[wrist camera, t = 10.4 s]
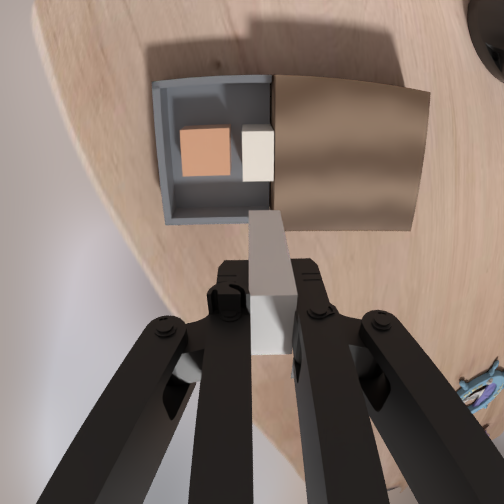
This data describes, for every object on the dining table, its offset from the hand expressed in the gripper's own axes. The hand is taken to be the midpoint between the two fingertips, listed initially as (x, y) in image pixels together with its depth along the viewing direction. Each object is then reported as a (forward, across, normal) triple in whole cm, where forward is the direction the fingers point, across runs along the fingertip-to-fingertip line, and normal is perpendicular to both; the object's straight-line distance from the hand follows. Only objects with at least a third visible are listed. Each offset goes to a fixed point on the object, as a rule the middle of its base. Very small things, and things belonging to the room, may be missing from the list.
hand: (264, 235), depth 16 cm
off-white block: (+19, +2, 0) cm, 19 cm away
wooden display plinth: (+22, +10, 0) cm, 24 cm away
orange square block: (+18, -5, 0) cm, 19 cm away
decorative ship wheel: (+23, +60, -60) cm, 88 cm away
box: (+22, -4, 0) cm, 23 cm away
